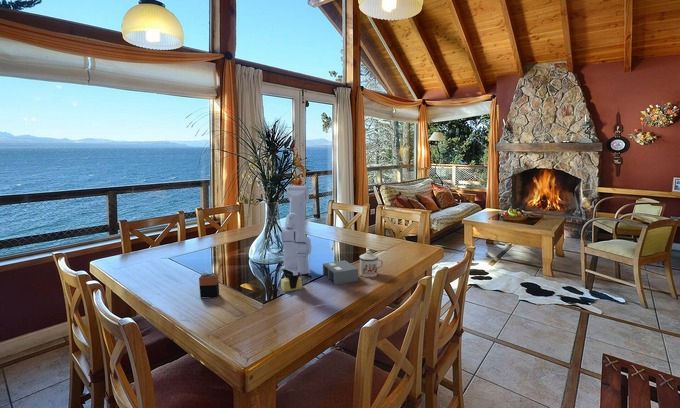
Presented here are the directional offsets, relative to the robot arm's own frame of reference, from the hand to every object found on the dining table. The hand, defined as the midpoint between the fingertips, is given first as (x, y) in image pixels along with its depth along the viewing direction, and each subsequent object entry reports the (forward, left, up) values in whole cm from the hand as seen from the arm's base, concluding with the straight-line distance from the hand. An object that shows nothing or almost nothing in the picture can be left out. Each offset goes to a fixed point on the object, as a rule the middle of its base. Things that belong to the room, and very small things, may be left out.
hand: (291, 286), depth 151 cm
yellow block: (0, 0, -1) cm, 1 cm away
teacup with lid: (-1, +41, -2) cm, 41 cm away
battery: (-8, -33, -2) cm, 34 cm away
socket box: (-3, +25, -2) cm, 25 cm away
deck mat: (0, 0, -2) cm, 2 cm away
